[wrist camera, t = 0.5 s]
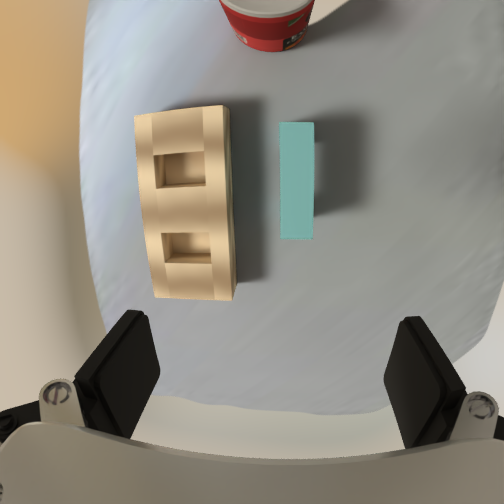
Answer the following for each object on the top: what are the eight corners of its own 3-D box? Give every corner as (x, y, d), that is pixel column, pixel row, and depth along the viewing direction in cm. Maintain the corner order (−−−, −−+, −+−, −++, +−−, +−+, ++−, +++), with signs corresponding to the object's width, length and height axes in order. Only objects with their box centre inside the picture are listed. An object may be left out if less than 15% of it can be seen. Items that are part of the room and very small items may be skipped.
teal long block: (279, 126, 29) (279, 121, 22) (306, 126, 29) (313, 122, 22) (280, 218, 33) (280, 239, 26) (305, 218, 32) (312, 239, 26)
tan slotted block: (150, 117, 29) (134, 116, 26) (229, 109, 29) (222, 105, 25) (166, 281, 37) (155, 297, 33) (236, 283, 36) (232, 300, 32)
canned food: (298, 61, 26) (307, 25, 16) (224, 46, 26) (198, 7, 16) (313, 6, 23) (326, -44, 13) (242, -8, 23) (226, -60, 13)
